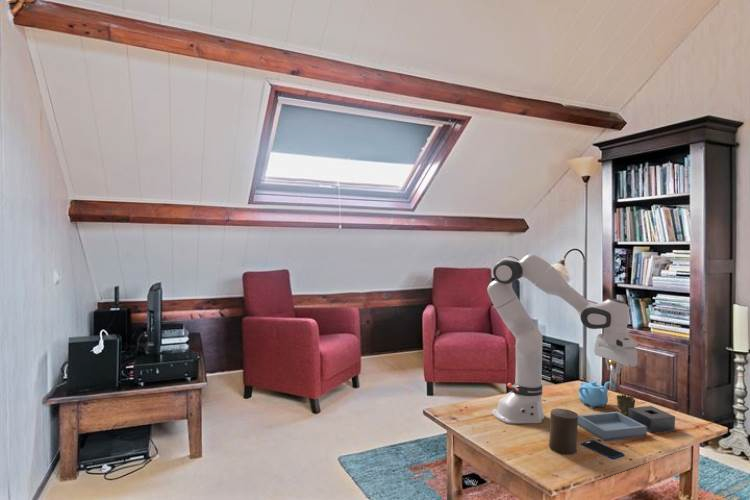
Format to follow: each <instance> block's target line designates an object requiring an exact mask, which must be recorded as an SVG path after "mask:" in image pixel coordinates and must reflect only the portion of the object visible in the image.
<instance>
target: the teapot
mask: <svg viewBox="0 0 750 500" xmlns="http://www.w3.org/2000/svg"><path fill="white" fill-rule="evenodd" d="M609 385H610V381H605V383H604V385H602V384H600V383H597V381H590V382H587V381H585V382H582V383H581V386H579V388H578V391H579V392H578V398H579V400H580V401H581V404H584V405H589V408H591V409H596V407H598V406H599V407H602V408H604V407H605V406H606V405H607V404H608V402H609V398H608V387H609Z"/></svg>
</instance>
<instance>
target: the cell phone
mask: <svg viewBox="0 0 750 500" xmlns="http://www.w3.org/2000/svg"><path fill="white" fill-rule="evenodd" d="M580 445H581V446H582V447H584V448H587V449H589V450H591V451H593V452H596V453H598V454H599V455H601V456H604V457H606V458H608V459H611V460H616V459H620V458H622V457H625V453H623V452H621V451H619V450H617V449H614V448H612V447H610V446H608V445H606V444H603V443H601V442H598V441H597V440H594V439H591V440H587V441H584V442H581V443H580Z"/></svg>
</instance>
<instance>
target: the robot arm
mask: <svg viewBox="0 0 750 500" xmlns="http://www.w3.org/2000/svg"><path fill="white" fill-rule="evenodd" d="M492 275H493V277H494V280H492V281H491V282H490V283H489V284H488V286H487V289H486V290H487V294H488V296H489V298H490V301H491V303H492V305H493V307H494V309H495V310H496V312H497V313H498V315H499V317H500V318H501V320H502V322H503V323H504V325H505V326H506V327H507V328H508V330H509V331H510V333H512V336H514V339H515V381H514V382H513V383H514V384H513V383H511V382H508V383H507V384H506V386H507V387H508V388H509V389H511V390H510V391H509V392H508V393H507V394H506V395H504V396H503V397H501V398H500V400H498V404H497V408H494V409H492V415H493V416H494V417H495V418H496V419H497V420H499V421H500V422H503V423H506V424H541V423H542V422H543V420H544V419H545V414H544V410H543V408H544V407H543V401H542V400H543V399H542V397H543V385H542V377H543V376H542V373H543V370H542V369H543V334H542V332H541V330H540V329H539V327H538V326H537V324H536V323H535V322H534V320H533V319H532V318H531V316H530V315H529V313H528V312H527V310H526V309H525V307H524V305H523V304H522V302H521V300H520V298H519V297H518V296H517V294H516V292H515V290H514V288H513V283H514V282H516V281H517V280H519V279H521V278H526V279H527V280H528V281H529V282H531V283H532V285H534V286H535V287H537V289H539V290H541V291H543V292H544V293H546V294H548V295H553V296H556V297H558V298H561V299H562V300H563V301H565V302H566V303H567V304H568V305H569V306H571V307H572V308H573V309H575V310H576V312H577V313H578V315H579V318H580V322H581V323H582V325H583V326H584V327H585V328H588V329H591V330H597V329H599V330H601V329H603V334H602V333H599V334H598V335H597V336H596V339H595V343H594V347H593V348H594V350H593V352H594V355H596V356H598V357H601V358H604V359H605V364H606V366H607V367H606V369H607V371H610V370H611V364H610V363H609V360H611V361H614V362H616V365H617V367H616V368H614V372H615V373H617V375H618V374H620V373H621V369H622V368H623V366H625V367H627V368H635V367H636V366H637V365H638V350H637V347H638V342H637V341H636V340H635V339H633V338H632V337H631V336H630V335H629V334H628V333H629V330H628V325H629V323H630V322H629V321H630V319H629V317H630V316H629V315H630V314H629V311H630V310H629V306H628V304H627V303H626V302H624V301H623V300H620V299H618V298H607V299H606V300H603V301H602V302H599V303H598V302H595V301H592V300H589V299H588V298H586V297H584V296H583V295H581V294H580V293H579V292H578V291H577V290H575V289H574V288H573V287H572V286H571V285H570V284H569V283H568V282H567V280H566V279H565V277H564V276H563V275H562V274H561V273H560V272H559V271H558V269H556V268H555V267H554V266H553V265H551V264H550V262H548V261H546V260H545V259H543V258H542V257H540V256H538V255H537V254H534V253H529V254H527V255H524V256H523V257H522V258H521V259H518V258H517V257H515V256H511V255H510V256H506V257H505V256H504V257H503V258H500V259H499V260H498V261H497V262H496V263H495V264H494V266H493V268H492Z"/></svg>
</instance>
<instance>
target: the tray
mask: <svg viewBox="0 0 750 500" xmlns="http://www.w3.org/2000/svg"><path fill="white" fill-rule="evenodd" d="M578 427H581V428H582V429H584V430H585V431H587V432H588V433H590V434H592V435H594V436H595V437H597V438H598V439H599V440H602V441H603V442H607V441H608V442H609V441H619V440H626V439H627V440H628V439H636V438H642V437H644V438H645V437H647V436H648V435H647V434H648V432H647V426H645V425H643V424H641V423H639V422H637V421H635V420H633V419H631V418H629V417H628V416H625V415H623V414H621V412H619V411H611V412H601V413H600V412H599V413H590V414H578Z"/></svg>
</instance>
